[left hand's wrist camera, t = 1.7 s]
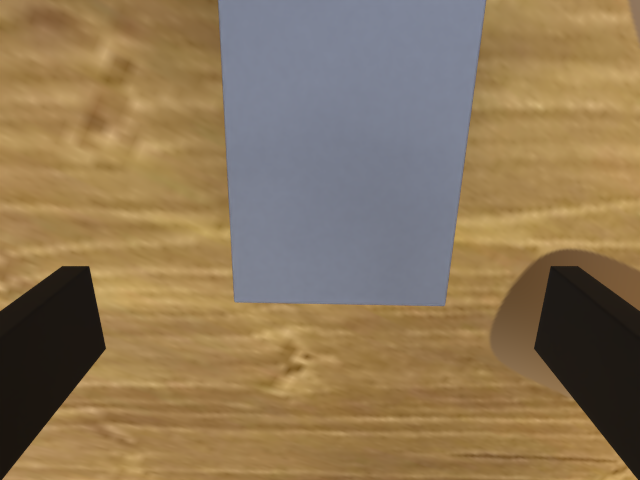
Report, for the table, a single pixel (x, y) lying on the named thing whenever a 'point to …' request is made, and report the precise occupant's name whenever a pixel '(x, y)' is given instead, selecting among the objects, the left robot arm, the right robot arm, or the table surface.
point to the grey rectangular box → (346, 146)
